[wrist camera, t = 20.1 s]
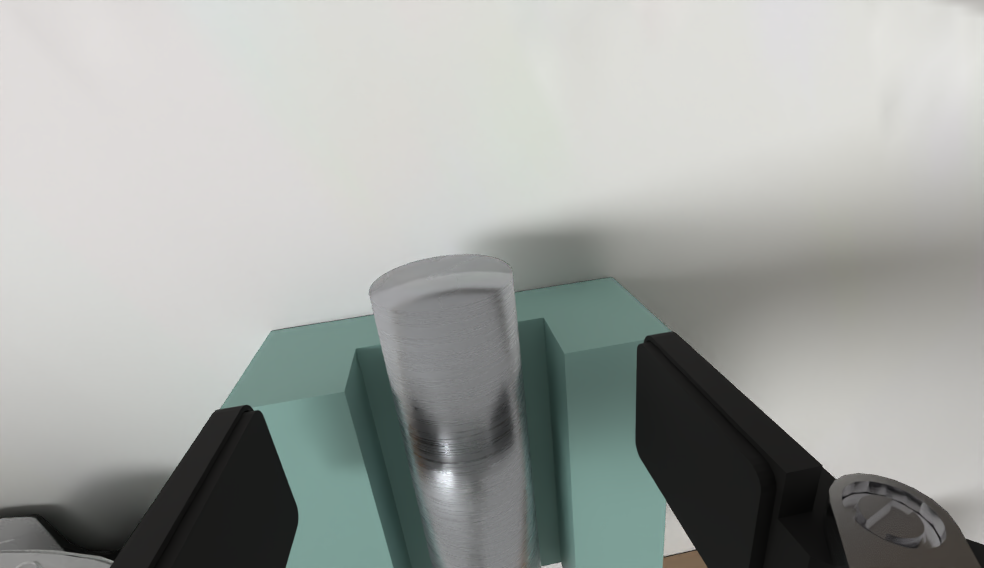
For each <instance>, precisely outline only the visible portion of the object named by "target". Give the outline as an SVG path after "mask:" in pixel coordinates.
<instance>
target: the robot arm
mask: <svg viewBox="0 0 984 568" xmlns="http://www.w3.org/2000/svg"><path fill="white" fill-rule="evenodd" d="M635 444H636V449H637V452H638V455H639V457H640V459H641V461H642V462H643V464H644V465H645V467H646V469H647V470H648V472H649V474H650V475H651V477H652V478H653V480H654V482H655V483H656V485H657V487H658V488H659V490H660V491H661V493H662V495H663V496H664V498H665V499H666V501H667V503H668V504H669V506H670V508H671V509H672V511H673V512H674V514H675V516H676V517H677V519H678V521H679V522H680V524H681V525H682V527H683V529H684V530H685V532H686V534H687V535H688V537H689V538H690V540H691V542H692V543H693V545H694V546H695V548H696V550H697V551H698V553H699V555H700V556H701V558H702V559H703V561H704V563H705V564H706V566H707V568H984V545H983V544H980V543H977V542H974V541H971V540H968V539H965V537H964V535H963V534H962V532H961V530H960V528H959V526H958V525H957V524H956V522H955V521H954V520H953V519H952V517H951V516H950V515H949V513H948V512H947V511H946V510H944V509H943V508H942V507H941V506H940V505H938V504H937V503H936V502H935V501H934V500H933V499H931V498H929V497H928V496H926V495H924V494H923V493H921V492H919V491H918V490H916V489H914V488H912V487H910V486H908V485H905V484H903V483H901V482H898V481H896V480H893V479H889V478H885V477H882V476H878V475H872V474H861V473H856V474H849V475H844V476H842V477H840V478H838V479H835V478H834V477H833V476H832V475H831V474H830V473H829V472H827V471H826V470H825V469H824V468H823V467H822V466H823V465H821V464H820V463H819V462H818V461H817V460H816V459H815V458H814V457H813V456H811V455H810V454H809V453H808V452H807V451H806V450H805V449H804V448H803V447H801V446H800V445H799V444H798V443H797V442H796V441H795V440H794V439H793V438H792V437H790V436H789V435H788V434H787V433H786V432H785V431H784V430H783V429H782V428H780V427H779V426H778V425H777V424H776V423H775V422H774V421H773V420H772V419H770V418H769V417H768V416H767V415H766V414H765V413H764V412H763V411H762V410H761V409H759V408H758V407H757V406H756V405H755V404H754V403H753V402H752V401H751V400H749V399H748V398H747V397H746V396H745V395H744V394H743V393H742V392H741V391H739V390H738V389H737V388H736V387H735V386H734V385H733V384H732V383H731V382H729V381H728V380H727V379H726V378H725V377H724V376H723V375H722V374H721V373H720V372H718V371H717V370H716V369H715V368H714V367H713V366H712V365H711V364H710V363H708V362H707V361H706V360H705V359H704V358H703V357H702V356H701V355H700V354H698V353H697V352H696V351H695V350H694V349H693V348H692V347H691V346H690V345H689V344H687V343H686V342H685V341H684V340H683V339H682V338H681V337H680V336H679V335H677V334H676V333H675V332H665V333H659V334H653V335H648V336H646V337H645V339H644V343H641V344H639V345H638V347H637V368H636V427H635ZM298 519H299V516H298V508H297V505H296V502H295V499H294V497H293V494H292V491H291V488H290V486H289V483H288V480H287V478H286V475H285V472H284V469H283V467H282V464H281V461H280V459H279V456H278V453H277V451H276V448H275V445H274V442H273V440H272V437H271V434H270V432H269V429H268V426H267V424H266V421H265V418H264V416H263V414H262V412H261V411H259V410H255V411H254V410H253V408H252V407H251V406H250V405H241V406H236V407H230V408H224V409H219V410H216V411H215V412H214V413H213V414H212V415H211V417H210V418H209V420H208V421H207V423H206V424H205V426H204V427H203V429H202V430H201V432H200V433H199V435H198V436H197V438H196V439H195V441H194V442H193V444H192V445H191V447H190V448H189V450H188V451H187V453H186V454H185V456H184V457H183V459H182V460H181V462H180V463H179V465H178V466H177V468H176V469H175V471H174V472H173V474H172V475H171V477H170V478H169V480H168V481H167V483H166V484H165V486H164V487H163V489H162V490H161V492H160V493H159V495H158V496H157V498H156V499H155V501H154V502H153V504H152V505H151V507H150V508H149V510H148V511H147V512H146V514H145V515H144V517H143V518H142V520H141V521H140V523H139V524H138V526H137V527H136V529H135V530H134V532H133V533H132V535H131V536H130V538H129V539H128V541H127V542H126V544H125V545H124V547H123V548H122V550H121V551H120V553H119V554H118V556H117V557H116V559H115V560H114V562H113V563H112V565H111V566H110V568H286V565H287V561H288V558H289V555H290V551H291V548H292V544H293V541H294V537H295V534H296V530H297V527H298Z"/></svg>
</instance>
